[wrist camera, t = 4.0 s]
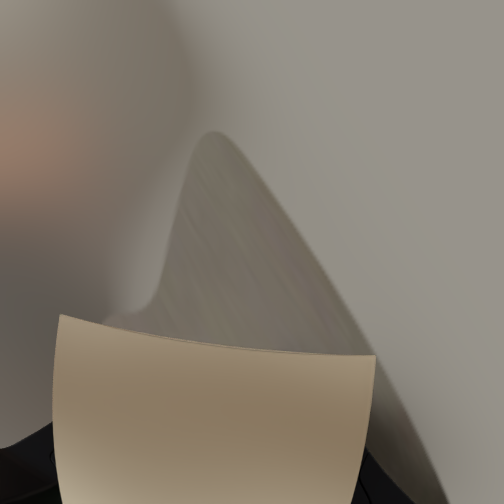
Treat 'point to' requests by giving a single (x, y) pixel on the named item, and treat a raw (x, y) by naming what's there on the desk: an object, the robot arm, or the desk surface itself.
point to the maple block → (204, 420)
